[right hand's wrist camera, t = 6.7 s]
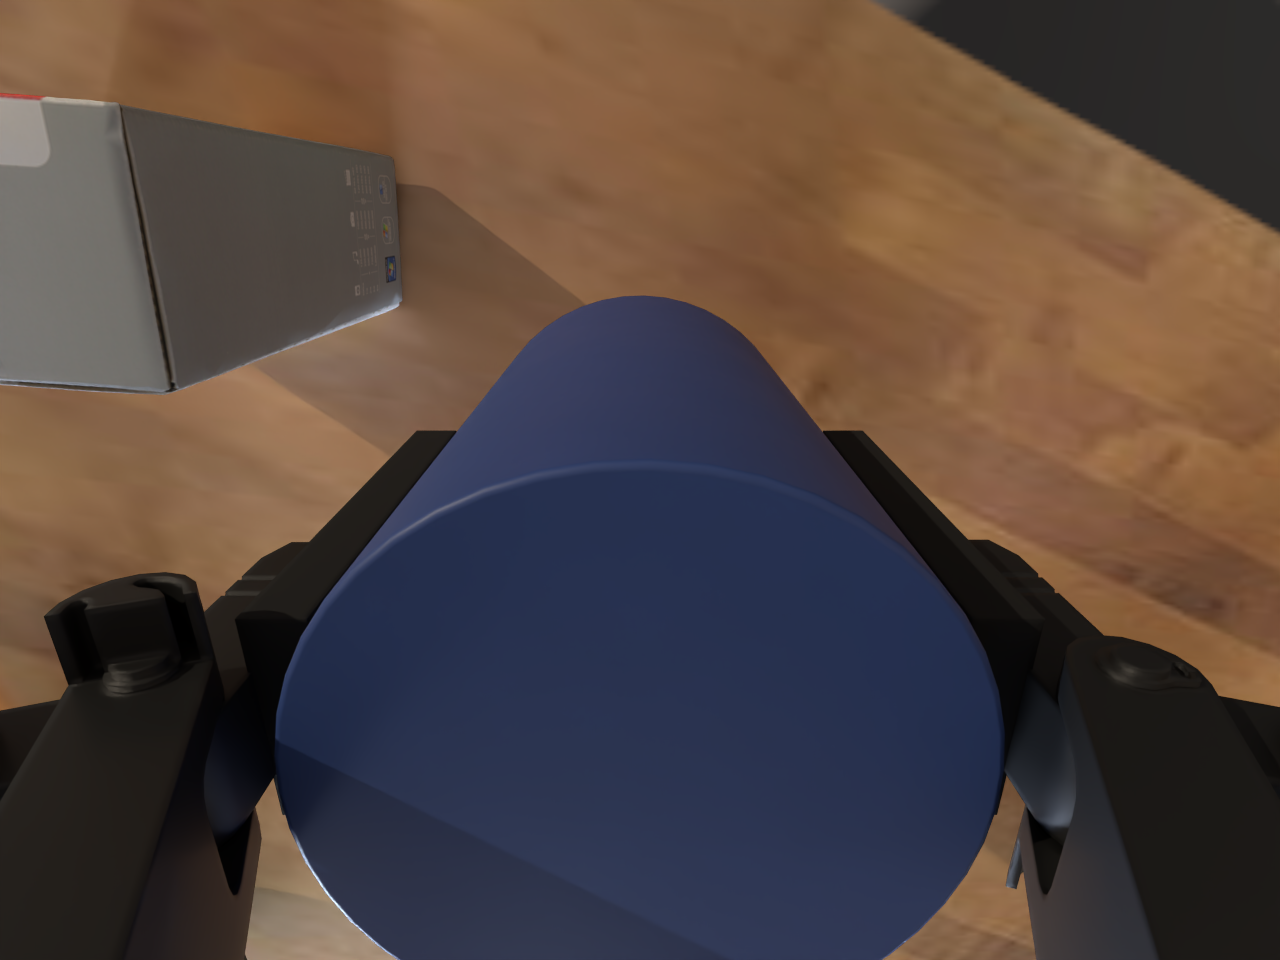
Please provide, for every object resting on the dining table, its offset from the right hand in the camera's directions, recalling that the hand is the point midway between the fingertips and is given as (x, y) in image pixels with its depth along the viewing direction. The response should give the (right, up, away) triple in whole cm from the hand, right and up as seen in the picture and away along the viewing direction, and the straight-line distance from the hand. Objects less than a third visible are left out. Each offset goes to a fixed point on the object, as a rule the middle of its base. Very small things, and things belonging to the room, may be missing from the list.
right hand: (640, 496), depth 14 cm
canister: (0, +1, +3) cm, 3 cm away
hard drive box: (-20, +14, +23) cm, 34 cm away
